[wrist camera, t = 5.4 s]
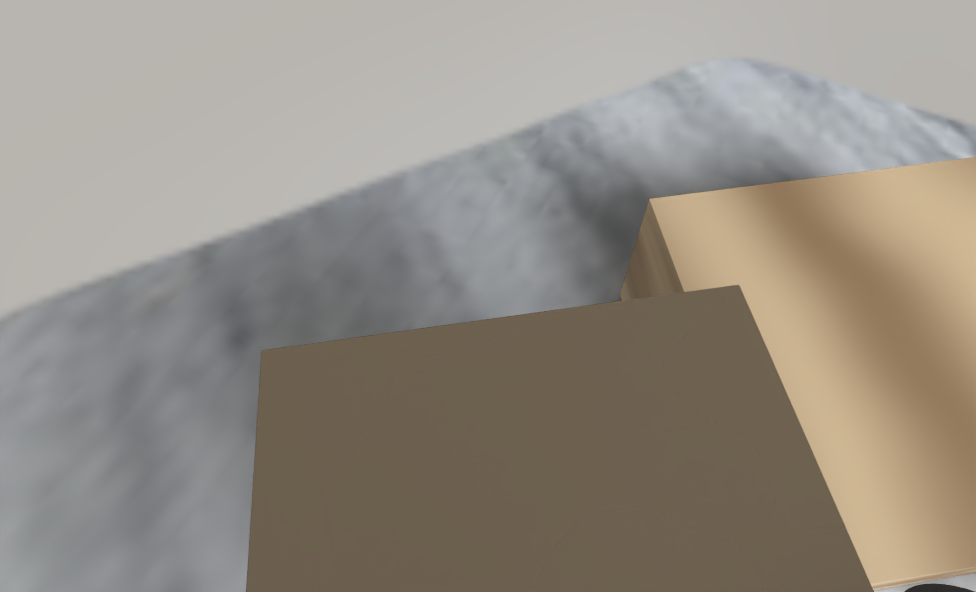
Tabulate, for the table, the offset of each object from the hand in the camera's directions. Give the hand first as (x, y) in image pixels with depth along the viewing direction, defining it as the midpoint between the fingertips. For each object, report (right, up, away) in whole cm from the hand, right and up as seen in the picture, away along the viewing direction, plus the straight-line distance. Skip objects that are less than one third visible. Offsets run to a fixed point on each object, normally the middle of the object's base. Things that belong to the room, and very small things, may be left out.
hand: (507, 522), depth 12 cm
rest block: (+10, +1, +7) cm, 12 cm away
